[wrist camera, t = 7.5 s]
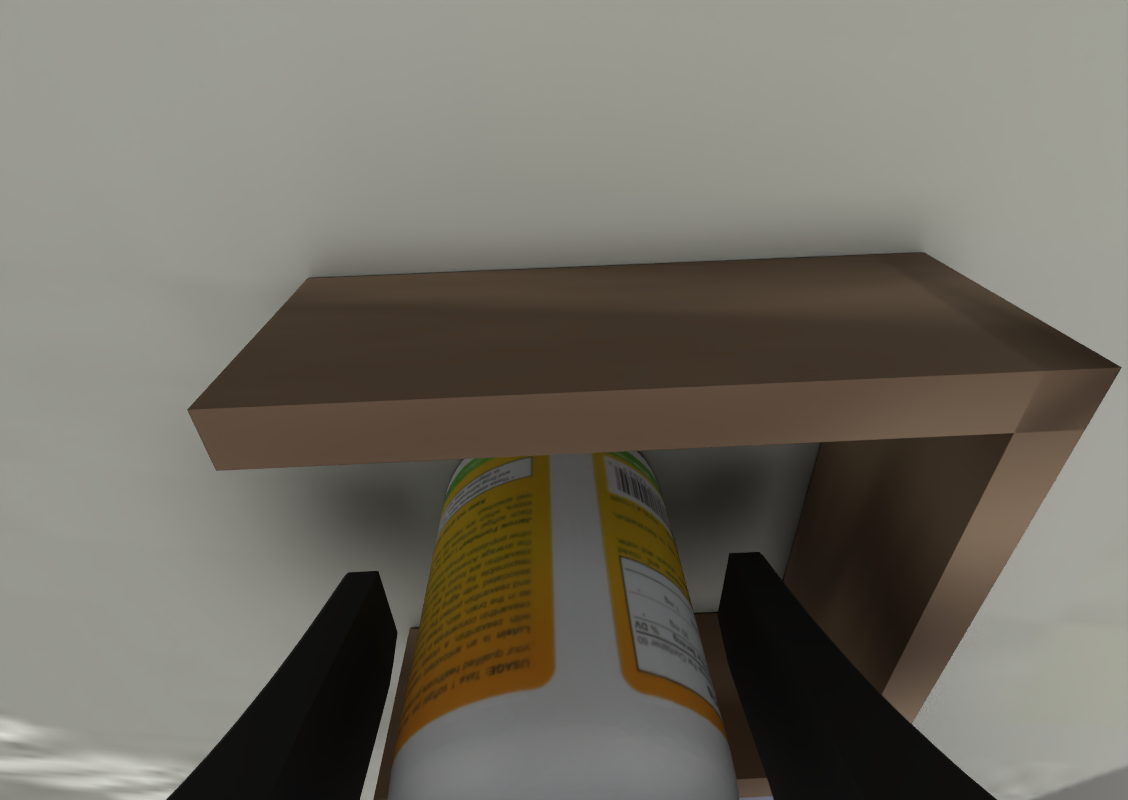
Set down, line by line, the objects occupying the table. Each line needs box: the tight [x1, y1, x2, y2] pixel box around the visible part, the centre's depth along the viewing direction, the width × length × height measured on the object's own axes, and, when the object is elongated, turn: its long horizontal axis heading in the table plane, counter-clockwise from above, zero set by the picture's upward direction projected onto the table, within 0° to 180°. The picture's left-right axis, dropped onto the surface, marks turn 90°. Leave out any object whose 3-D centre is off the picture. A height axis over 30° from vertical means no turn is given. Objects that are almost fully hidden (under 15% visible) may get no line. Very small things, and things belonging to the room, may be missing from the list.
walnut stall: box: [188, 253, 1122, 800], centre depth 12 cm, size 12×12×4 cm
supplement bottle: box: [387, 451, 739, 800], centre depth 10 cm, size 5×5×10 cm
